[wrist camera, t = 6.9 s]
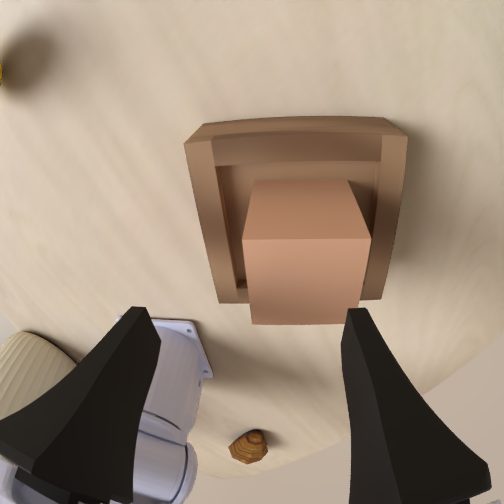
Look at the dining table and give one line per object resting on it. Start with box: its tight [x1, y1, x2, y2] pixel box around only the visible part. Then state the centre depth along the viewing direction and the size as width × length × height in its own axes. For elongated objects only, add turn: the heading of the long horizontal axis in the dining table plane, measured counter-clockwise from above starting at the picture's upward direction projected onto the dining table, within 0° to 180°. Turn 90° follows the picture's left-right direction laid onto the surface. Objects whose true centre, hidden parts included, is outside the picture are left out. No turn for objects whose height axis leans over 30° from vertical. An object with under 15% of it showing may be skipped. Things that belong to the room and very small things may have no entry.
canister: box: [0, 332, 77, 465], centre depth 28 cm, size 18×18×21 cm
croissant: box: [228, 431, 268, 464], centre depth 44 cm, size 14×7×5 cm, turn 169°
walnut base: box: [184, 116, 408, 303], centre depth 17 cm, size 10×10×4 cm
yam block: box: [242, 180, 371, 325], centre depth 14 cm, size 4×4×5 cm
